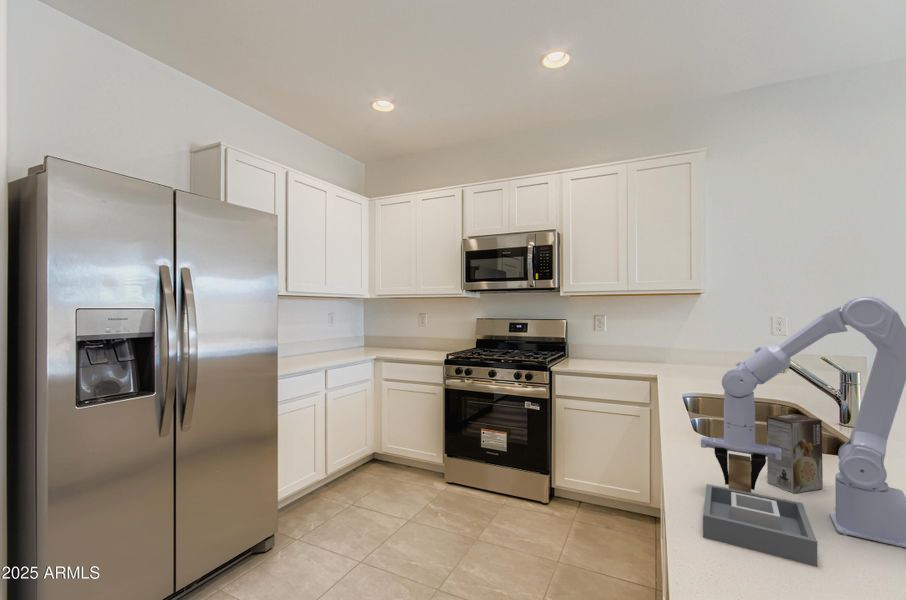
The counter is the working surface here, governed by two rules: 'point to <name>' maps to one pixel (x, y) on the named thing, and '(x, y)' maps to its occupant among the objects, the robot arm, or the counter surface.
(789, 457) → the coffee box
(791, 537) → the socket box
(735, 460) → the peg
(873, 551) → the counter surface
